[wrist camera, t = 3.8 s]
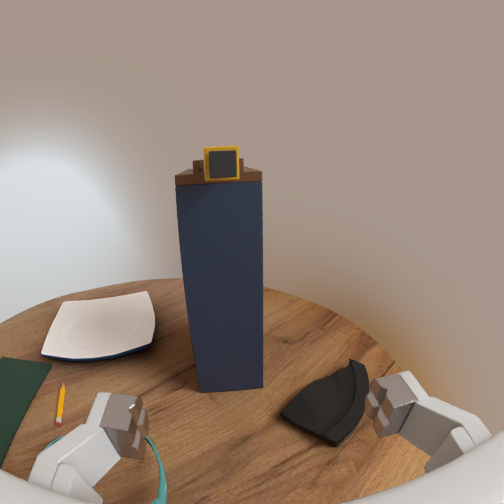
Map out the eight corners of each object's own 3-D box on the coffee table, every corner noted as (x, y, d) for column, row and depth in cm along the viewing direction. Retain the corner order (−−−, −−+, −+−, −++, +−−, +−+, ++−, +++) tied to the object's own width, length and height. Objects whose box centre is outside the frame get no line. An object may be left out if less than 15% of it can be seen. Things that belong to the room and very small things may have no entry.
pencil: (56, 427, 25) (54, 423, 24) (62, 384, 32) (60, 380, 32) (62, 426, 25) (59, 423, 25) (67, 384, 32) (65, 380, 32)
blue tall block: (263, 388, 35) (261, 158, 26) (200, 392, 34) (174, 162, 25) (249, 330, 48) (245, 158, 39) (201, 333, 47) (186, 160, 38)
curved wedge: (389, 383, 33) (392, 374, 33) (335, 451, 24) (338, 443, 24) (339, 361, 39) (341, 352, 38) (276, 416, 30) (276, 407, 29)
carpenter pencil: (243, 182, 15) (242, 144, 14) (203, 184, 15) (202, 145, 14) (223, 167, 39) (223, 153, 39) (208, 168, 39) (208, 153, 38)
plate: (161, 360, 40) (158, 345, 39) (40, 371, 33) (34, 358, 32) (153, 300, 58) (151, 288, 57) (63, 311, 52) (60, 300, 51)
